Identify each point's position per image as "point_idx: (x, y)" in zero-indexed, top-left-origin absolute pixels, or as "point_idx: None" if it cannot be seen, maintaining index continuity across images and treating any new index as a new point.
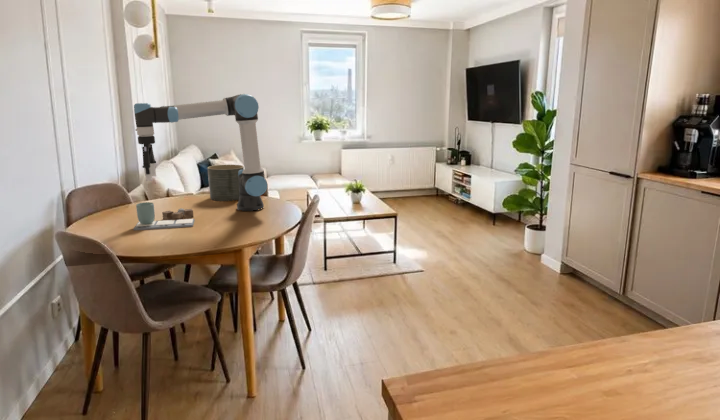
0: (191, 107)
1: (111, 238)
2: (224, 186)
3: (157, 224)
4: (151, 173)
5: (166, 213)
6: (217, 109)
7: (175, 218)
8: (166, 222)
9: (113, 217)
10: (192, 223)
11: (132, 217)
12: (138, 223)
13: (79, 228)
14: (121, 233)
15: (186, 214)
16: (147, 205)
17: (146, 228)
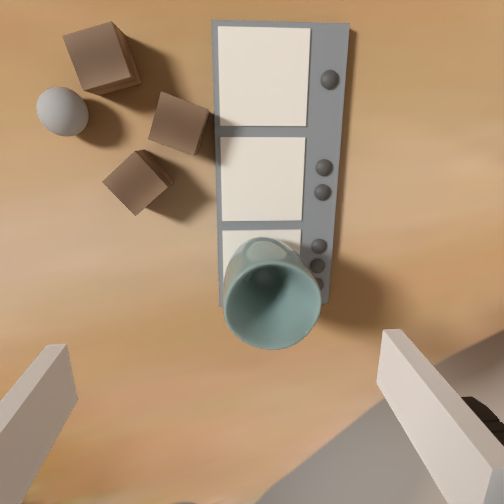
0: None
1: None
2: None
3: (295, 213)
4: (58, 412)
5: (165, 188)
6: None
7: (201, 135)
8: (267, 175)
9: (75, 421)
10: (321, 26)
11: (85, 350)
12: None
13: (235, 479)
14: (356, 334)
15: (134, 73)
16: (317, 286)
17: (331, 253)
